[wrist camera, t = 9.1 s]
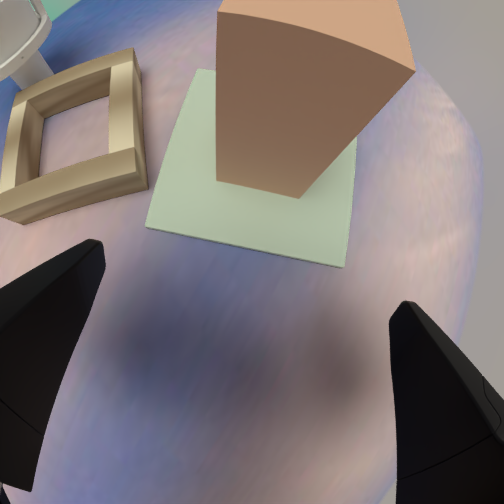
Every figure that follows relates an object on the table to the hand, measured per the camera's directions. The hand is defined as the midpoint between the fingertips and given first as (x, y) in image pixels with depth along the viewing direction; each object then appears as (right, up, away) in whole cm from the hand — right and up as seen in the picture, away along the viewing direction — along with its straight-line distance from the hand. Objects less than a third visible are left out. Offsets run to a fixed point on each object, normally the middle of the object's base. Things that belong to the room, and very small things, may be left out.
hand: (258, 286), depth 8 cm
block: (+1, +7, +9) cm, 12 cm away
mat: (+1, +7, +10) cm, 12 cm away
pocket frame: (-12, +9, +9) cm, 18 cm away
